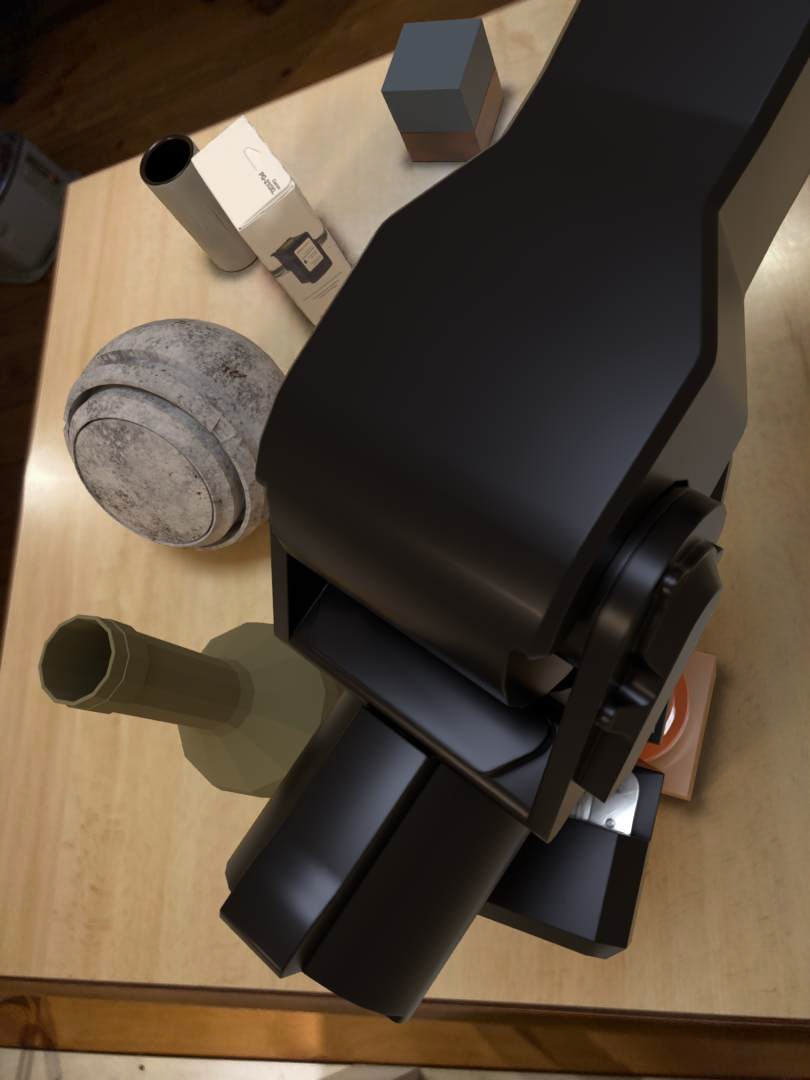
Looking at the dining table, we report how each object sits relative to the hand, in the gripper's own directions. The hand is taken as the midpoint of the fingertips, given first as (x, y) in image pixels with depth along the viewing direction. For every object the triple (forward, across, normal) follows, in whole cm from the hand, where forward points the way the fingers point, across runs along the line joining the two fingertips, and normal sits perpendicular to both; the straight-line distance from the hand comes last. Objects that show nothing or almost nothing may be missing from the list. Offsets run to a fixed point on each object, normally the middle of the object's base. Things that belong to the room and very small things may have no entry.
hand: (619, 694), depth 38 cm
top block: (+7, -41, -22) cm, 47 cm away
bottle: (+11, +5, -12) cm, 17 cm away
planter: (+10, -29, -38) cm, 49 cm away
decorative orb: (+11, -10, -30) cm, 34 cm away
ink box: (+10, -27, -30) cm, 42 cm away
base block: (+10, -41, -22) cm, 47 cm away
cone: (+2, 0, 0) cm, 2 cm away
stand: (+10, 0, 0) cm, 10 cm away
